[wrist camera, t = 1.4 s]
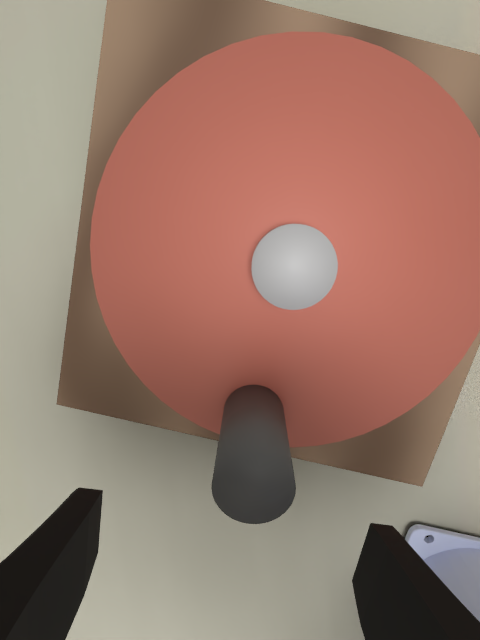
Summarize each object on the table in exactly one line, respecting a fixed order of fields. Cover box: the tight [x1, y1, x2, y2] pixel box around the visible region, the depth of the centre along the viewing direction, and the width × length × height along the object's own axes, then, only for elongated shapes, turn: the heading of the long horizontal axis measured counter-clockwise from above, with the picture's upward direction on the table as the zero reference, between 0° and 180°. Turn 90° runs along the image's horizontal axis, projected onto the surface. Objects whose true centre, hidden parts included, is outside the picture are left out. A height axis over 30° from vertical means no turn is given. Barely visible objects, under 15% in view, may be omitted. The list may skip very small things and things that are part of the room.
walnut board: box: [57, 0, 480, 486], centre depth 18 cm, size 18×18×2 cm
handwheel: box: [90, 31, 480, 524], centre depth 14 cm, size 16×16×6 cm
